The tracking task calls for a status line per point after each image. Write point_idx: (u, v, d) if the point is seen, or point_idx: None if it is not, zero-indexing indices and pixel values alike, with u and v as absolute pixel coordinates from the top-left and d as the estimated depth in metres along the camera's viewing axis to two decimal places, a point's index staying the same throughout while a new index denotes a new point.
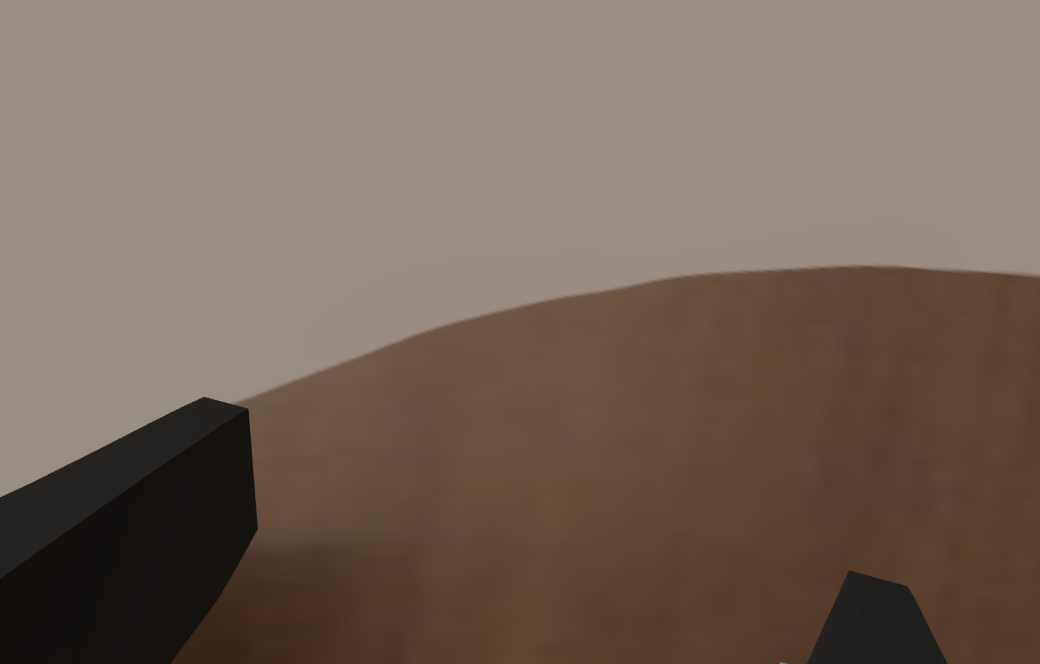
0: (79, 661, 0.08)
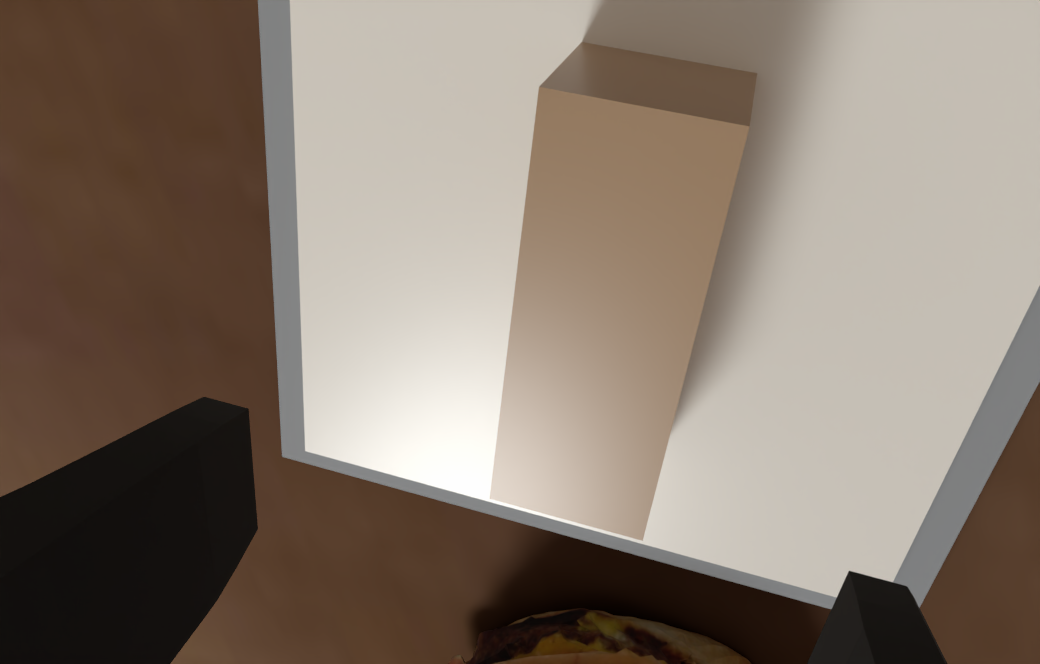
0: (79, 662, 0.08)
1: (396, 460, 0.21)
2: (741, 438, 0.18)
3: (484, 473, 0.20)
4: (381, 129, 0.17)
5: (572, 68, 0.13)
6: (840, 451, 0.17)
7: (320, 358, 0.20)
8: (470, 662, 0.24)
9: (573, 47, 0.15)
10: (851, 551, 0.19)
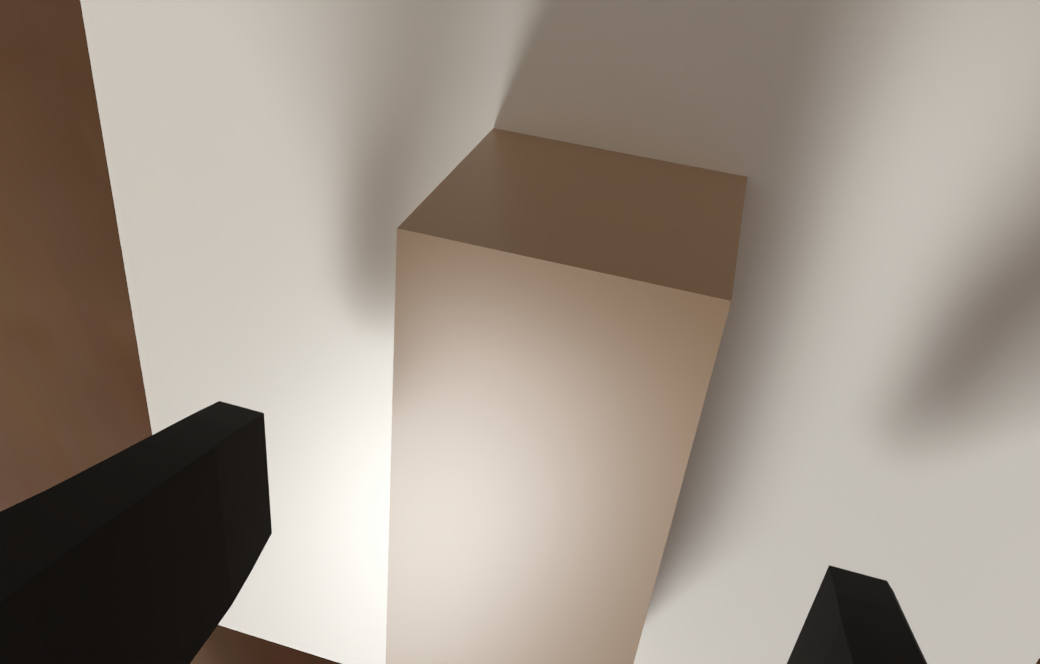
0: None
1: (294, 631, 0.16)
2: (732, 638, 0.13)
3: None
4: (231, 237, 0.12)
5: (464, 183, 0.09)
6: None
7: None
8: None
9: (482, 135, 0.10)
10: None
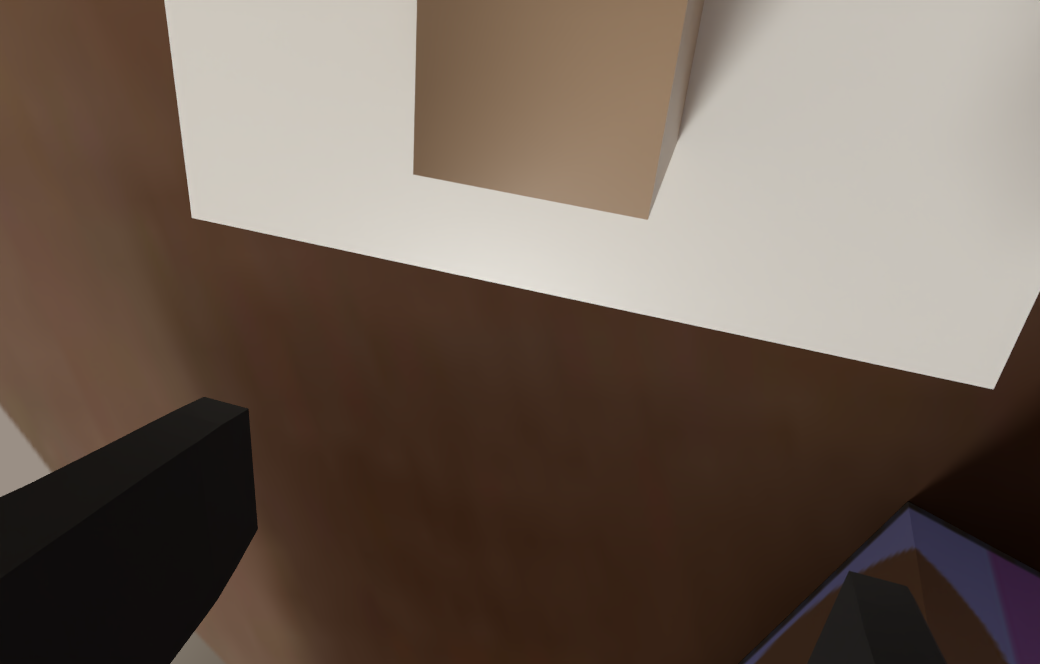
0: (79, 663, 0.08)
1: (311, 217, 0.15)
2: (793, 116, 0.12)
3: (430, 224, 0.15)
4: None
5: None
6: (944, 119, 0.12)
7: (196, 60, 0.14)
8: None
9: None
10: (955, 295, 0.13)
